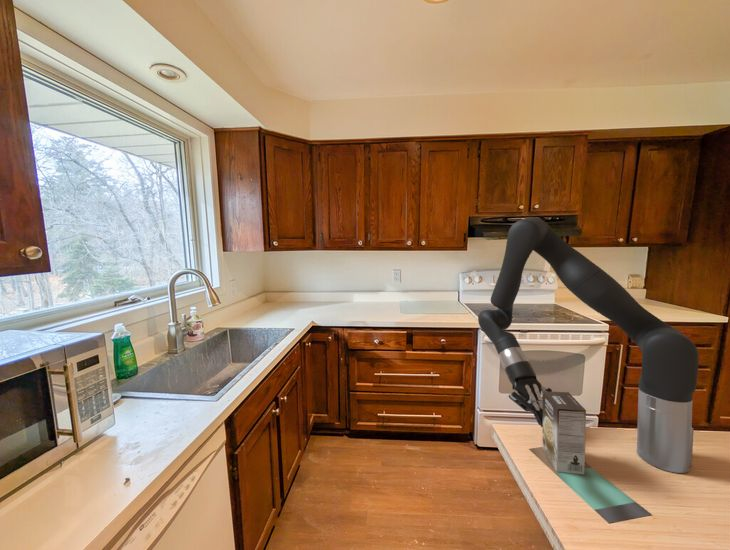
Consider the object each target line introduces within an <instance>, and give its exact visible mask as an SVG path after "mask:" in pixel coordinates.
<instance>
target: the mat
mask: <svg viewBox="0 0 730 550" xmlns="http://www.w3.org/2000/svg"><path fill="white" fill-rule="evenodd" d="M528 450H529V451H530V452H531V453H532V454H533V455H534V456H535V457H537V459H539V460H540V461H541V462H542V463H543V464H544V465H545V466H546V467H547V468H548V469H550V471H551V472H552V473H554V474H555V475H556V476H557V477H558V478H559V479H561V481H562V482H564V484H566V485H567V486H568V487H569V488H570V489H571V490H572V491H573V492H574V493H575V494H576V495H577V496H579V497H580V498H581V499H582V500H583V502H585V503H586V504H587V505H588V506H590V508H592V509H593V510H594V511H595V512H596V513H597V514H598V515H599V516H600V517H601V518H602V519H603V520H604V521H605V522H607V524H614V523H618V522H624V521H629V520H634V519H638V518H643V517H648V516H653V514H652V513H651V512H650V511H648V510H647V509H645V508H644V507H643V506H642V505H640V504H639V503H638V502H637V501H635V500H634V499H633V498H632V497H630V496H629V495H628V494H627V493H625V492H624V491H622V490H621V489H620V488H619V487H618V486H616V485H615V484H614V483H612V482H611V481H610V480H608V479H607V478H606V477H604V476H603V475H602V474H601V473H599V472H598V471H597V470H596V469H594V468H593V467H592V466H591V465H589V464H588V463H586V462H585V466H584V474H575V473H564V472H557V471H556V470H555V468H554V467H553V465H552V463H551V461H550V460H549V458H548V456H547V454H546V453H545V451H544V449H543V446H539V447H532V448H528Z"/></svg>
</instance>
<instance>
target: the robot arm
mask: <svg viewBox="0 0 730 550" xmlns="http://www.w3.org/2000/svg"><path fill="white" fill-rule="evenodd" d="M533 251H534V252H535V253H536V254H538V255H539V256H540V257H541V258H543V260H545V261H546V262H547V263H548V264H549V265H550V267H551V268H552V269H553V270H552V271H554V273H555V275H556V276H557V277H558V279H559V281H561V283H562V284H563V285H564V286H565V287H566V288H567V289H568V291H570V292H571V293H572V294H573V295H574V296H575V297H577V298H578V299H579V300H580V301H581V302H583V303H584V304H585V305H586V306H588V307H589V308H591V309H592V310H593V311H595V312H597V314H600V315H601V316H603V317H605V318H606V319H608V320H609V321H611V322H613V323H614V324H615V325H616V326H617V327H618V328H620V330H622V332H624V333H625V334H626V335H627V336H628V337H629V338H630V339H631V340H632V341H633V342H634V344H635V345H636V346H637V347H638V349H640V351H641V374H640V377H639V378H638V398H637V399H638V400H637V429H636V430H637V433H636V434H637V435H636V453H637V456H638V457H639V458H640V459H642V460H643V461H644V462H645V463H648V464H650V465H651V466H653V467H655V468H658V469H661V470H664V471H665V472H670V473H675V474H685V473H688V472H689V471H690V467H692V466H693V450H694V449H693V446H694V428H693V427H692V423H693V399H694V397H693V396H694V393H695V391H696V388H697V384H698V375H699V374H698V373H699V360H700V359H699V350H698V348H697V346H696V343H694V342H693V341H692V340H691V339H690V338H688V337H687V336H686V335H685V334H684V333H682V332H681V331H679V330H677V329H676V328H674V327H672V326H671V325H669V324H667V323H666V321H665V322H664V321H663V320H662V319H660V318H658V317H657V316H656V315H654V314H652V313H651V312H650V311H649V310H647V309H645V308H644V307H643V306H642V305H641V304H640V303H639V302H638V301H637V300H636V299H635V298H634V297H633V296H632V294H630V293H629V292H628V291H627V290H626V289H625V288H624V287H623V286H622V285H621V284H620V283H619V282H618V281H617V280H616V279H614V277H612V276H611V275H610V274H608V273H607V272H606V271H605V270H603V269H602V268H601V267H600V266H598V265H597V264H596V263H594V262H592V260H591V259H589V258H587V257H586V256H585V255H584V254H582V253H581V252H580V251H578V250H577V249H575V248H574V247H572V246H571V245H569V243H567V242H566V241H565V240H564V239H563V238H562V237H561V236H560V235H559V234H558V233H557V232H556V231H555V230H554V229H553V228H552V227H551V226H550V225H549V224H548V223H547V222H546V221H545V220H543V219H541V218H539V217H536V216H529V217H528V216H527V217H526V218H525V217H524V218H523V219H520V220H517V221H516V222H514V223H513V224H512V225H510V228H509V229H508V233H507V237H506V246H505V251H504V255H503V260H502V263H501V268H500V270H499V271H500V272H499V275H498V277H497V280H496V282H495V285H494V288H493V291H492V293H491V297H490V303H491V304H492V306H493V307H495V308H497V309H485V310H482V311H481V312H480V313H479V314H478V318H477V321H478V326H479V327H480V329H481V330H482V332H483V333H484V334H485V336H486V337H487V338H488V339H489V341H491V343H492V344H493V345H494V347H495V350H496V353H497V354H498V356H499V360H500V362H501V365H502V367H503V370H504V372H505V374H506V376H507V378H508V380H509V382H510V384H511V385H512V392H511V393H510V394H508V398H509V399H510V400H511V401H512V402H514V403H515V404H516V405H518V406H519V407H520V409H521V408H522V409H523V411H525V412H529V413H532V414H533V416H534V418H535V420H536V422H537V424H538V425H539V426H540V427H541V428H543V391H546V392H553V391H552V388H550V387H547V388H546V387H544V386H542V383H540V381H539V380H538V379H537V374H536V372H535V370H534V368H533V367H532V364H531V363H530V361H529V359H528V357H527V355H526V353H525V352H524V351H523V350H524V349H523V350H522V347H521V345H520V343H519V341H518V340H517V337H516V336H515V335H514V334H513V333H512V332H509V331H506V330H507V329H509V328H510V326H511V325H512V322H513V321H512V320H513V311H514V308H513V307H514V303H515V300H516V298H517V296H518V293H519V290H520V287H521V283H522V277H523V273H524V269H525V266H526V263H527V261H528V259H529V258H530V256H531V254H532V252H533Z"/></svg>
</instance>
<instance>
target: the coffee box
mask: <svg viewBox="0 0 730 550" xmlns="http://www.w3.org/2000/svg"><path fill="white" fill-rule="evenodd" d="M542 396H543V427H542V441H541V442H542V443H541V444H542V446H541V447H543V449H544V451H545V453H546V454H547V456H548V458H549V460H550V461H551V463H552V465H553V467H554V468H555V470H556V471H557V472H564V473H575V474H584V466H585V463H586V462H585V461H586V456H585V455H586V427H587V426H586V422H587V410H586V409H585V408H584V407H583V405H581V404H580V402H578V401H577V400H576V398H575V397H574V396H573V395H572V394H571V393H570V392H568V391H567V392H565V391H552V392H546V391H543V395H542Z"/></svg>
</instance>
